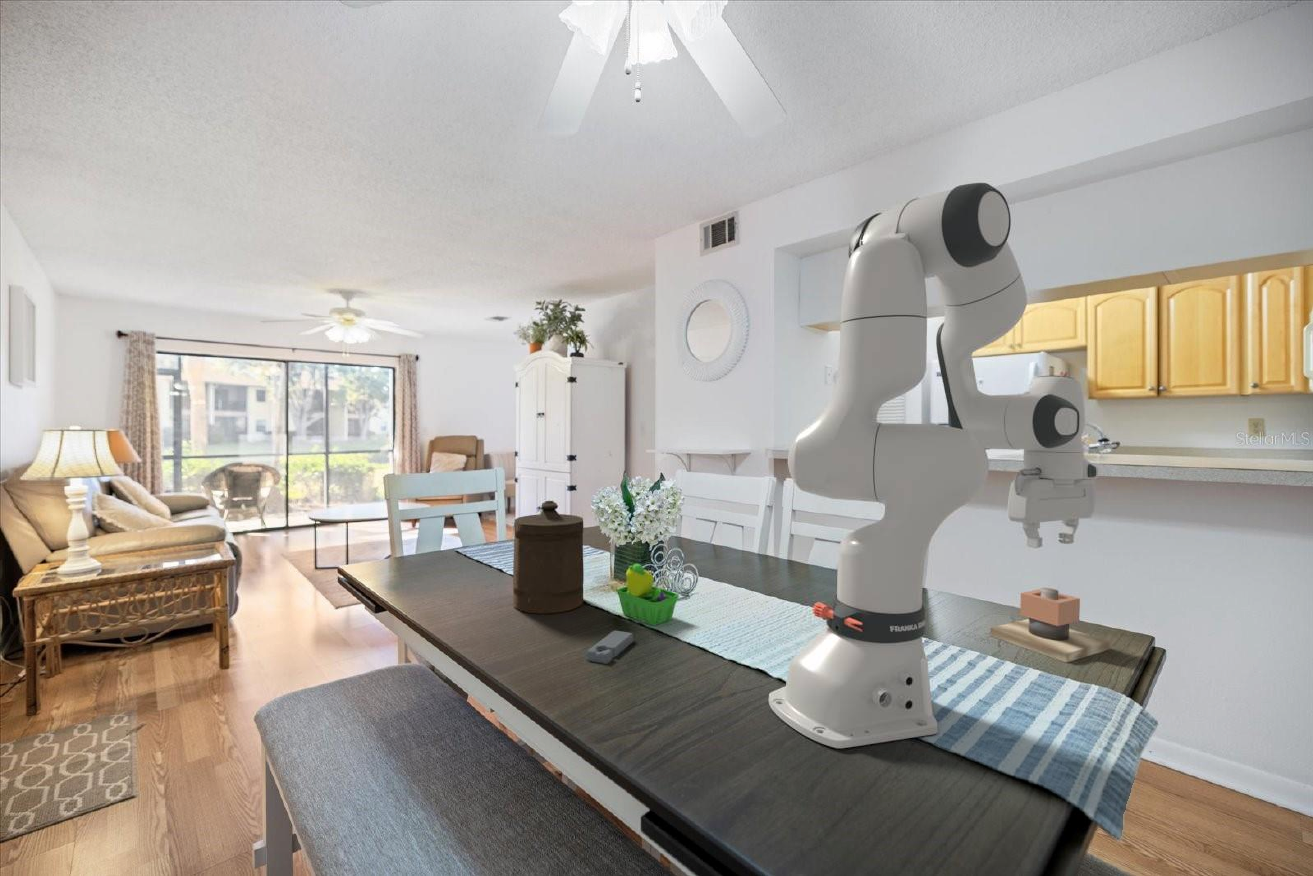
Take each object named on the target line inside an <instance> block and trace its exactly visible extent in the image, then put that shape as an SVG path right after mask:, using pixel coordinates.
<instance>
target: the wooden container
mask: <svg viewBox="0 0 1313 876" xmlns="http://www.w3.org/2000/svg"><path fill="white" fill-rule="evenodd" d="M558 508H559V505H558V503H557V502H555V501H554V500H546V501H544V502H542V503H541V509H542V511H541V512H540V513H539V514H531V515H529V514H528V515H523V516H520V517H517V518H515V519H514V527H513V529H514V535H513V536H514V537H513V563H512V566H513V569H512V574H513V575H512V587H513V588H512V589H513V591H512V594H513V595H512V596H513V597H512V602H513V603H512V605H513V607H514V608H515V609H516V610H518V611H522V612H524V613H529V614H540V615H541V614H543V615H545V614H549V615H550V614H557V613H564V612H567V611H568V612H569V611H572V610H574V609H577V608H578V607H579V608H580V606H582V605H583V603H584V583H585V582H584V581H585V580H584V572H585V571H584V537H583V534H584V519H583V517H581V516H578V515H573V514H562V513H559V512H558V511H557V509H558Z"/></svg>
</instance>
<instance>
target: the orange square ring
mask: <svg viewBox="0 0 1313 876" xmlns="http://www.w3.org/2000/svg"><path fill="white" fill-rule="evenodd" d="M1080 601H1081V598H1079V597H1075V596H1072V595H1067V594H1064V593H1061V592H1058V600H1052V599H1048V598H1045V597H1041V588H1040V589H1035V590H1034V589H1033V590H1030V591H1029V590H1028V591H1025V592H1021V593H1020V604H1019V605H1020V613H1019V614H1020V616H1023V617H1026V618H1028V619H1029V618H1032V619H1036V620H1039V621H1042V622H1046V623H1049V624H1052V625H1055V626H1061V625H1065V624H1069V625H1070V624H1071V623H1077V622H1079V621H1080V610H1081V609H1080V608H1081V606H1080V605H1081V602H1080Z"/></svg>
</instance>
